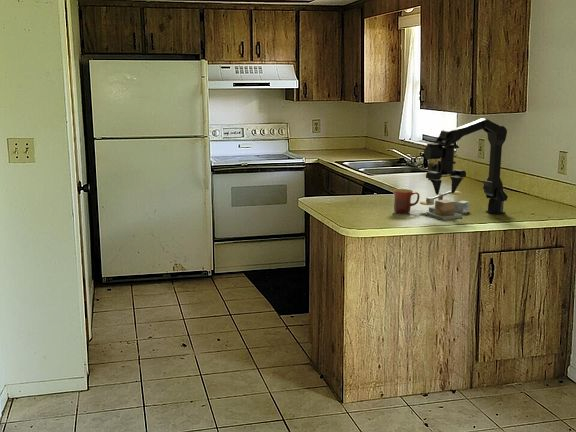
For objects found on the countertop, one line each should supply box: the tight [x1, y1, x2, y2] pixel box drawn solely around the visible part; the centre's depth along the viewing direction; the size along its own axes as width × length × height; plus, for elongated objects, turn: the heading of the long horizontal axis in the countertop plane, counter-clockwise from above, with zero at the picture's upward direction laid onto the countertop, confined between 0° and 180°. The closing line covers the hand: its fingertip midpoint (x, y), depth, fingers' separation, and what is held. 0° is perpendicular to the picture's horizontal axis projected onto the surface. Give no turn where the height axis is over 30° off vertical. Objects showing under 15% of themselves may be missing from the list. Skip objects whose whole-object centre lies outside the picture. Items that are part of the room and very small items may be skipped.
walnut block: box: [434, 199, 455, 216], centre depth 311 cm, size 6×6×6 cm
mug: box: [392, 188, 421, 215], centre depth 318 cm, size 12×9×10 cm
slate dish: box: [425, 211, 463, 221], centre depth 311 cm, size 11×11×1 cm
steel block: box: [454, 199, 470, 215], centre depth 321 cm, size 5×5×5 cm
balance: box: [419, 190, 462, 212], centre depth 323 cm, size 22×6×9 cm, turn 120°
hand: (444, 193), depth 309 cm, fingers open, 9 cm apart
